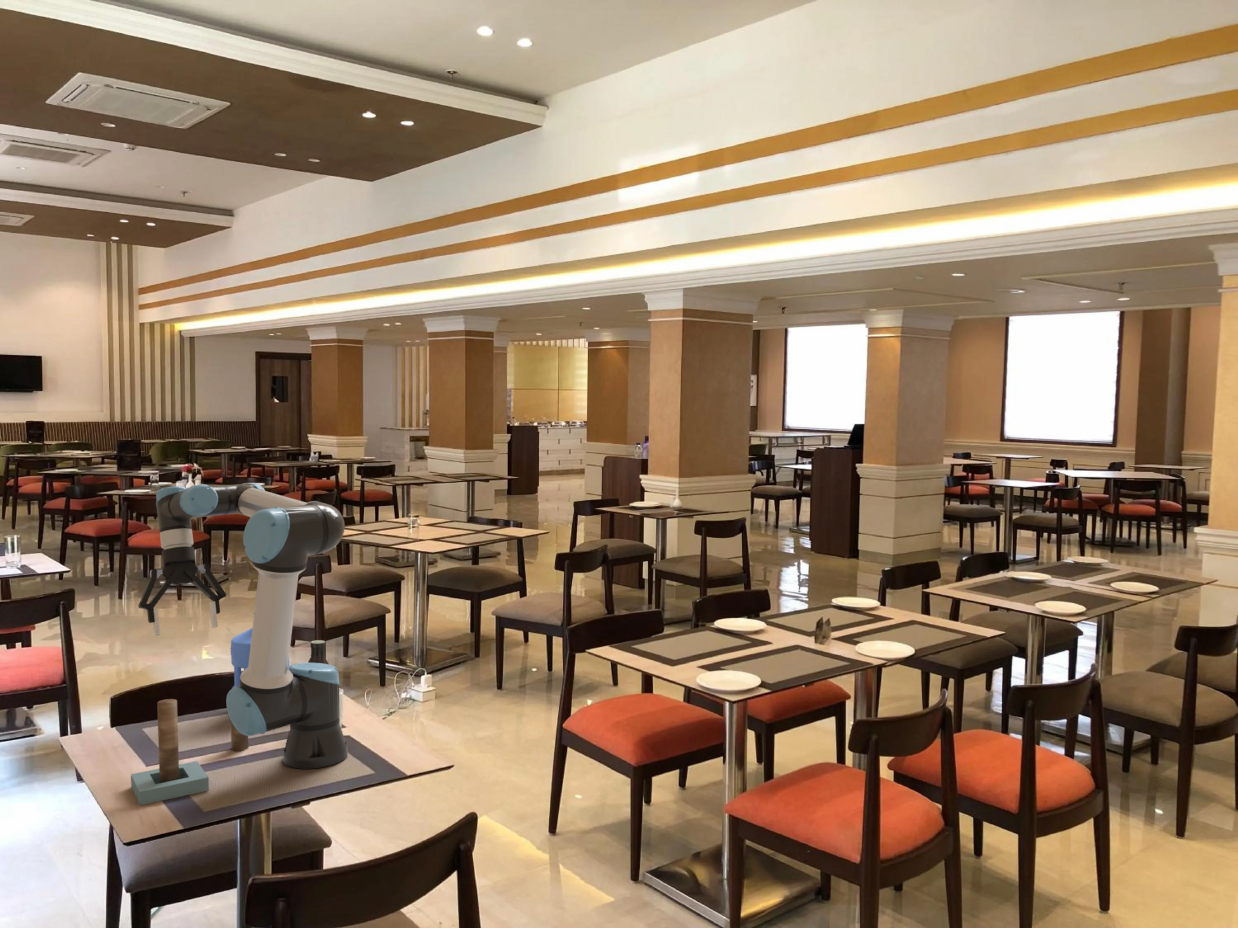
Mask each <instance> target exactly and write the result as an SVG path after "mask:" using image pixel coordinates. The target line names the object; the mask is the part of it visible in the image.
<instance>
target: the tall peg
mask: <svg viewBox="0 0 1238 928" xmlns="http://www.w3.org/2000/svg"><path fill="white" fill-rule="evenodd" d="M156 703H157V708H156V709H157V737H158V742H157V743H158V765H159V767H158V769H159V774H160V783H164V782H169V781H174V780H179V765H180V763H179V762H180V759H179V755H180V754H179V752H180V751H179V728H178V727H179V725H178V724H179V722H178V721H179V720H178V700H177V699H176V698H175V699H174V698H169V699H168V698H167V699H162V700H159V701H157V702H156Z"/></svg>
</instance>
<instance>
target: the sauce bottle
mask: <svg viewBox="0 0 1238 928" xmlns="http://www.w3.org/2000/svg"><path fill="white" fill-rule="evenodd" d="M325 650H326V641H325V640H321V639H319V640H312V641H310V658H309V659H308V661H307V663H323V664H328V665H330V664H329V662H328V661H327V659H326V654H325V653H326V651H325Z"/></svg>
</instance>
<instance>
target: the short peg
mask: <svg viewBox="0 0 1238 928" xmlns="http://www.w3.org/2000/svg"><path fill="white" fill-rule="evenodd" d="M230 743H231V744H230V746H231V751H232V752H242V750H243V751H246V750H248V749H249V736H246V735H243V734H241V733H240V732H239V731H238V730H237V729H236V728H235V727H234V725H233V724H232V722H231V721H230ZM247 748H248V749H247ZM245 749H246V750H245Z"/></svg>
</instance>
